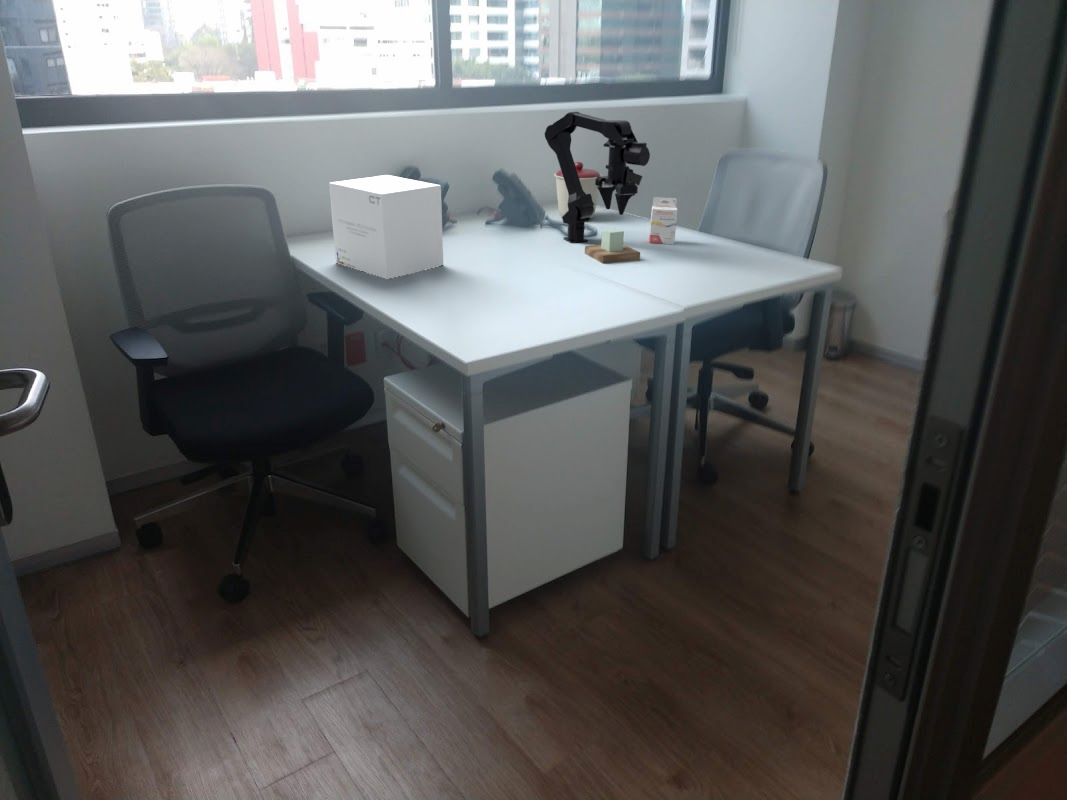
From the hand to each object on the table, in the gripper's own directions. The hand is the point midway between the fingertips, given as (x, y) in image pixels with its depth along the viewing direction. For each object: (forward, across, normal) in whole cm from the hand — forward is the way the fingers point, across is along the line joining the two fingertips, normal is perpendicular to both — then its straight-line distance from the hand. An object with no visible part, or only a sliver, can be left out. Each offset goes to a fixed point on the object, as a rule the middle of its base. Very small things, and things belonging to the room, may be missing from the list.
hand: (614, 211), depth 263 cm
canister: (+12, +47, -9) cm, 49 cm away
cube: (+13, +4, +74) cm, 75 cm away
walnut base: (+12, -10, +5) cm, 17 cm away
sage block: (+10, -10, +6) cm, 15 cm away
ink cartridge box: (+12, +2, -20) cm, 24 cm away
